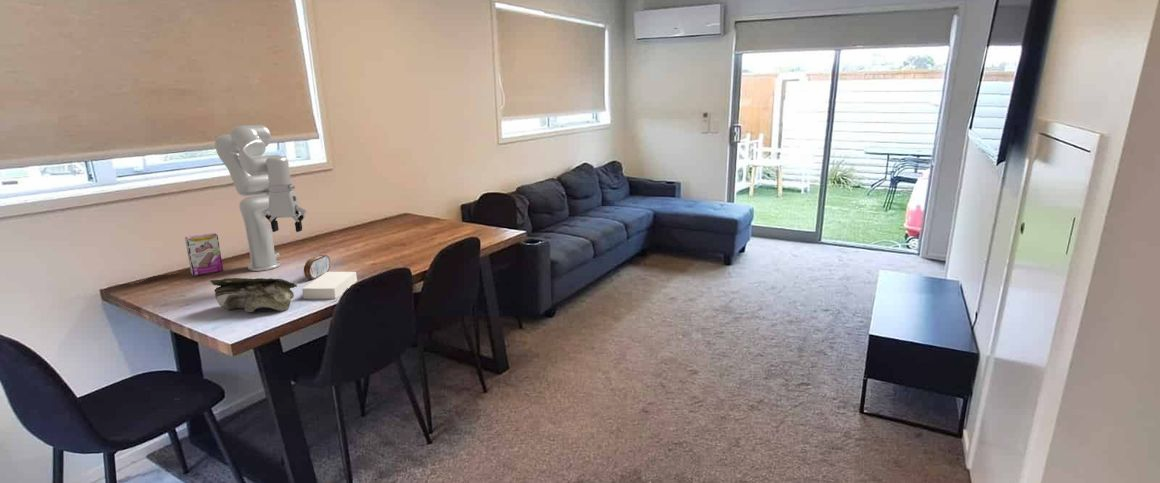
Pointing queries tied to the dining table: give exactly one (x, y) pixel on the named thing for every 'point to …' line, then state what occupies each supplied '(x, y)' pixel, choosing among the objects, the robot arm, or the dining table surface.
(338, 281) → the plinth
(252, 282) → the hollow geode rock
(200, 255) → the candy bar box
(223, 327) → the dining table surface
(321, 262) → the tin
